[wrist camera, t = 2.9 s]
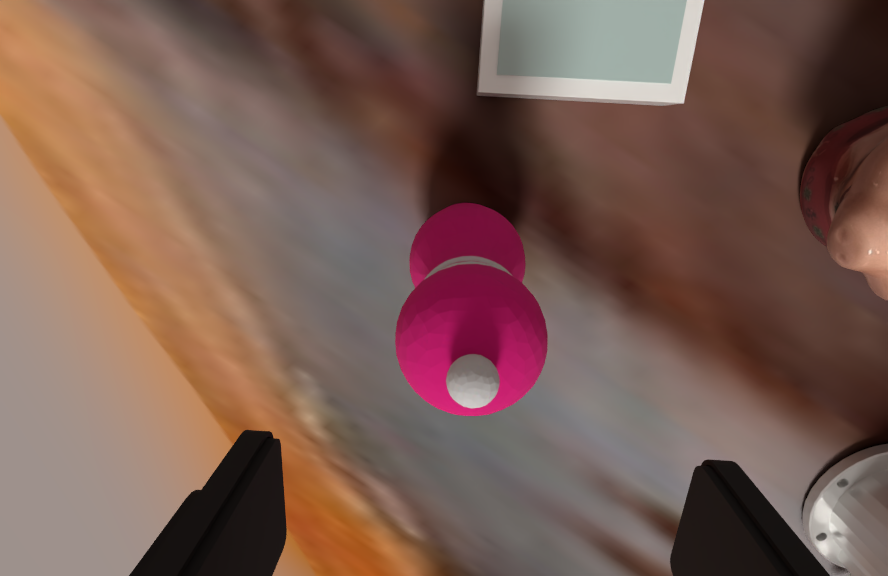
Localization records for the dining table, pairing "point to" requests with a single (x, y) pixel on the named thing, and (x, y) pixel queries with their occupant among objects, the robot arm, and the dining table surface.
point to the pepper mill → (470, 314)
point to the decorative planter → (852, 196)
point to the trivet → (588, 50)
